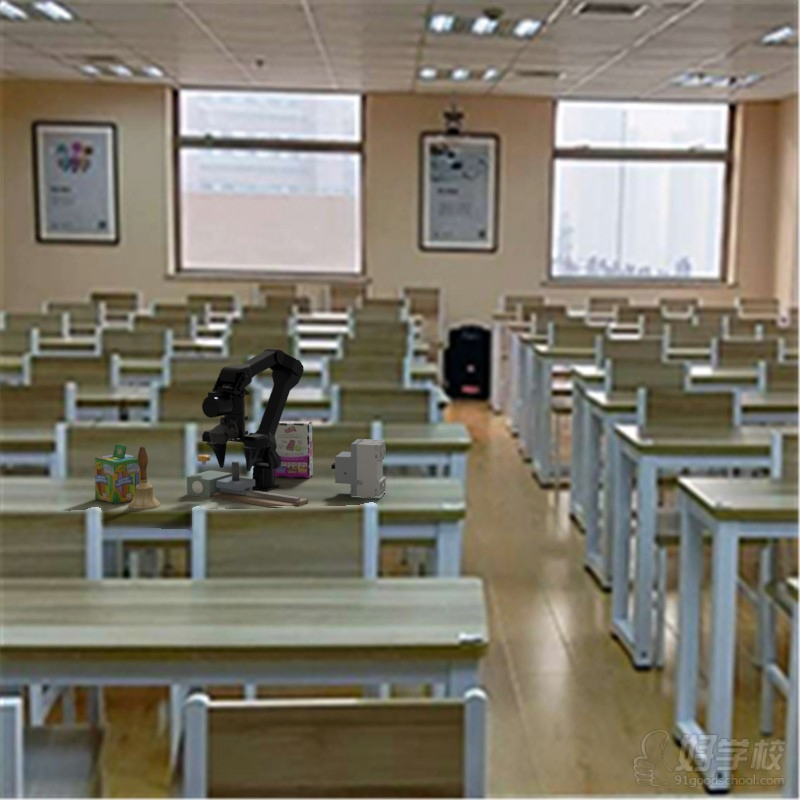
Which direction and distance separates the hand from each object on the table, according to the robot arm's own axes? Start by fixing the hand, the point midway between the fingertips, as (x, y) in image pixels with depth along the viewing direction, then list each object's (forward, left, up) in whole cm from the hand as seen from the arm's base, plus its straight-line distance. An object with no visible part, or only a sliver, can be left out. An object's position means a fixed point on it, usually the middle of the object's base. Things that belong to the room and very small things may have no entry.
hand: (235, 469), depth 320 cm
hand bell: (+21, -14, -8) cm, 26 cm away
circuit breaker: (-20, +27, -8) cm, 35 cm away
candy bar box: (-30, -2, -8) cm, 31 cm away
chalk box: (+19, -25, -8) cm, 32 cm away
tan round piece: (0, -11, 0) cm, 11 cm away
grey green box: (0, -9, -8) cm, 12 cm away
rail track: (0, +8, -8) cm, 11 cm away
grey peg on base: (0, 0, -6) cm, 6 cm away
